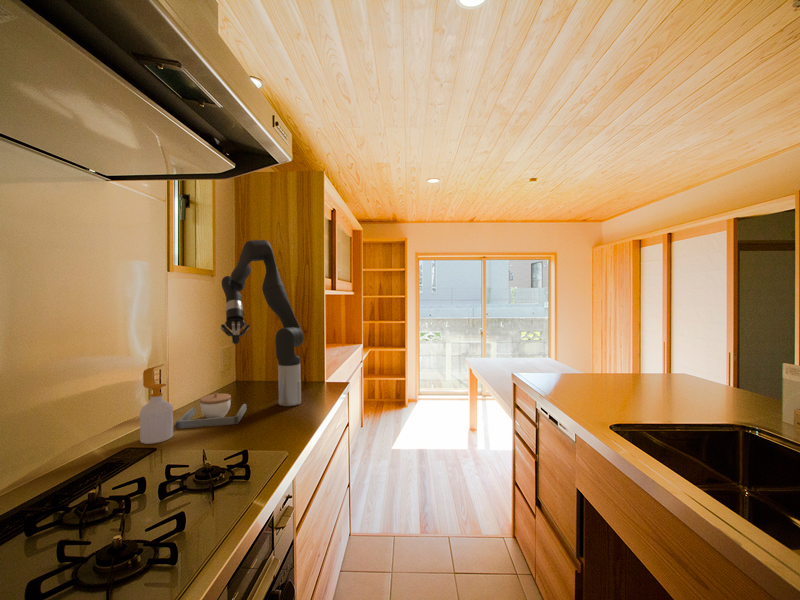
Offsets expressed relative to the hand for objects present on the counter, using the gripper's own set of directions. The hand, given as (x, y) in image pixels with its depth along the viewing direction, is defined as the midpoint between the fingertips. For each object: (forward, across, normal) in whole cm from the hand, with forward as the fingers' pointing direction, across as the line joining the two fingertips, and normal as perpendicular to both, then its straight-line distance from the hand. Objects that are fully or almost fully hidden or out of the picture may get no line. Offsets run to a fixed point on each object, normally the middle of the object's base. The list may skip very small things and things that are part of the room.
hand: (236, 343), depth 166 cm
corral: (+35, -10, -6) cm, 37 cm away
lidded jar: (+35, -9, -5) cm, 36 cm away
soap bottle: (+43, -28, -15) cm, 53 cm away
